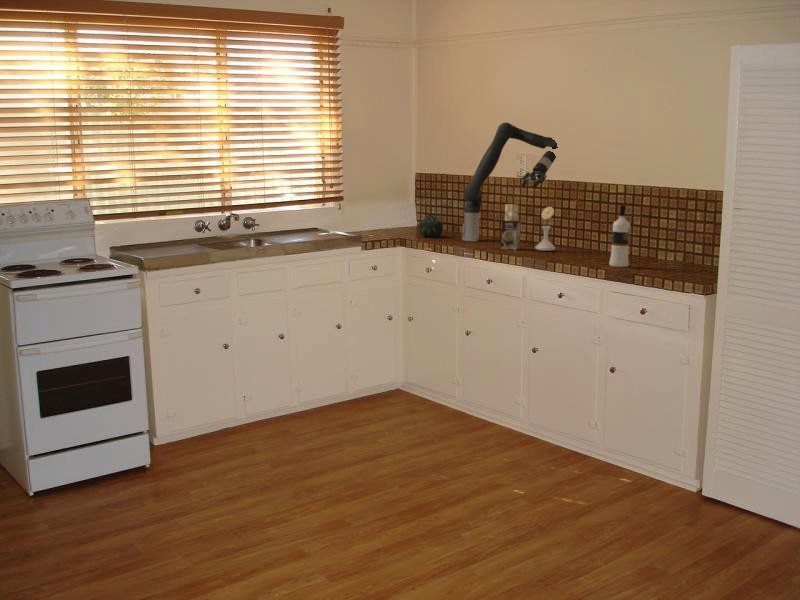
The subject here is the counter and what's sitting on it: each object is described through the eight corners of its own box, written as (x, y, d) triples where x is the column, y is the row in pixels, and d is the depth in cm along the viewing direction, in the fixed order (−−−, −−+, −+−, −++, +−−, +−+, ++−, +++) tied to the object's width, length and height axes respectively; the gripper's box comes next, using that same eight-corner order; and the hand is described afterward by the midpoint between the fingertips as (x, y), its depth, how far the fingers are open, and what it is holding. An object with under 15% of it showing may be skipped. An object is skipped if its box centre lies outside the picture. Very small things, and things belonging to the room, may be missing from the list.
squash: (440, 227, 566) (427, 209, 560) (450, 230, 552) (436, 212, 546) (424, 242, 564) (410, 224, 558) (433, 245, 550) (419, 227, 545)
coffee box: (500, 249, 499) (501, 220, 496) (504, 248, 504) (505, 219, 502) (515, 250, 494) (516, 221, 492) (519, 249, 500) (521, 220, 497)
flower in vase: (531, 249, 499) (533, 205, 495) (548, 249, 503) (551, 205, 499) (542, 252, 487) (544, 207, 483) (560, 252, 491) (563, 207, 487)
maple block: (504, 220, 497) (505, 204, 496) (511, 220, 500) (511, 204, 499) (511, 221, 493) (511, 204, 492) (517, 220, 496) (518, 204, 495)
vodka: (612, 264, 442) (617, 204, 437) (631, 266, 437) (635, 205, 432) (606, 266, 434) (610, 204, 429) (624, 268, 429) (629, 206, 424)
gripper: (530, 161, 516) (515, 181, 510) (549, 162, 505) (534, 182, 500) (536, 171, 520) (521, 190, 515) (554, 171, 509) (540, 192, 504)
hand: (527, 186), depth 507 cm, fingers open, 8 cm apart
